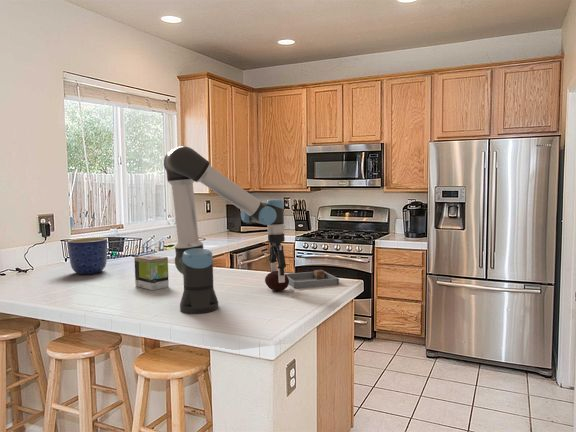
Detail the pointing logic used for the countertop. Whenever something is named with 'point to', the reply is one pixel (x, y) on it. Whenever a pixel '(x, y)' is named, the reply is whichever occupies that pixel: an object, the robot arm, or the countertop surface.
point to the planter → (88, 254)
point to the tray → (311, 280)
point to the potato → (276, 281)
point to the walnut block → (318, 274)
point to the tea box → (151, 272)
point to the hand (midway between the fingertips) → (277, 279)
